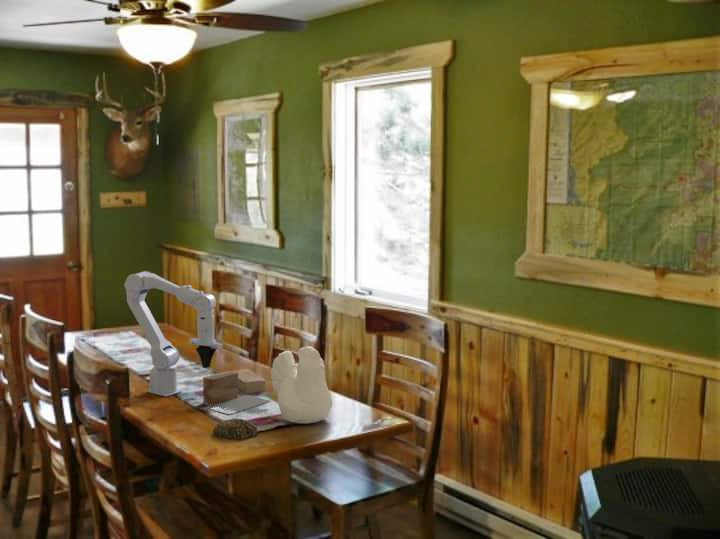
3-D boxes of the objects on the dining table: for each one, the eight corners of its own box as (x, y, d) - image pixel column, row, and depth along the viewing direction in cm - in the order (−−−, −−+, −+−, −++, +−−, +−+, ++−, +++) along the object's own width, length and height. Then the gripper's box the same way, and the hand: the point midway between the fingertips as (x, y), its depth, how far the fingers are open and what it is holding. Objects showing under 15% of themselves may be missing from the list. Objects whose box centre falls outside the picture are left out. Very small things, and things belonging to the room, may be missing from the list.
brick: (267, 391, 284) (267, 378, 283) (245, 394, 279) (245, 381, 279) (248, 380, 297) (248, 368, 297) (227, 383, 293) (227, 371, 292)
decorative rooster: (340, 424, 248) (342, 348, 244) (296, 432, 239) (298, 353, 236) (302, 403, 268) (303, 332, 265) (261, 410, 260) (261, 337, 257)
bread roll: (207, 435, 236) (207, 419, 235) (235, 424, 246) (235, 409, 245) (238, 444, 229) (238, 427, 228) (266, 433, 239) (266, 417, 238)
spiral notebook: (205, 408, 260) (205, 408, 260) (247, 395, 277) (247, 394, 277) (229, 415, 254) (229, 414, 254) (270, 401, 270) (270, 400, 270)
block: (203, 403, 267) (203, 377, 266) (228, 395, 276) (228, 370, 275) (212, 405, 264) (212, 379, 263) (237, 397, 274) (237, 372, 273)
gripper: (229, 329, 270) (229, 368, 272) (199, 324, 279) (200, 361, 281) (214, 333, 265) (214, 372, 266) (184, 327, 273) (185, 365, 275)
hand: (206, 367), depth 273 cm, fingers closed
